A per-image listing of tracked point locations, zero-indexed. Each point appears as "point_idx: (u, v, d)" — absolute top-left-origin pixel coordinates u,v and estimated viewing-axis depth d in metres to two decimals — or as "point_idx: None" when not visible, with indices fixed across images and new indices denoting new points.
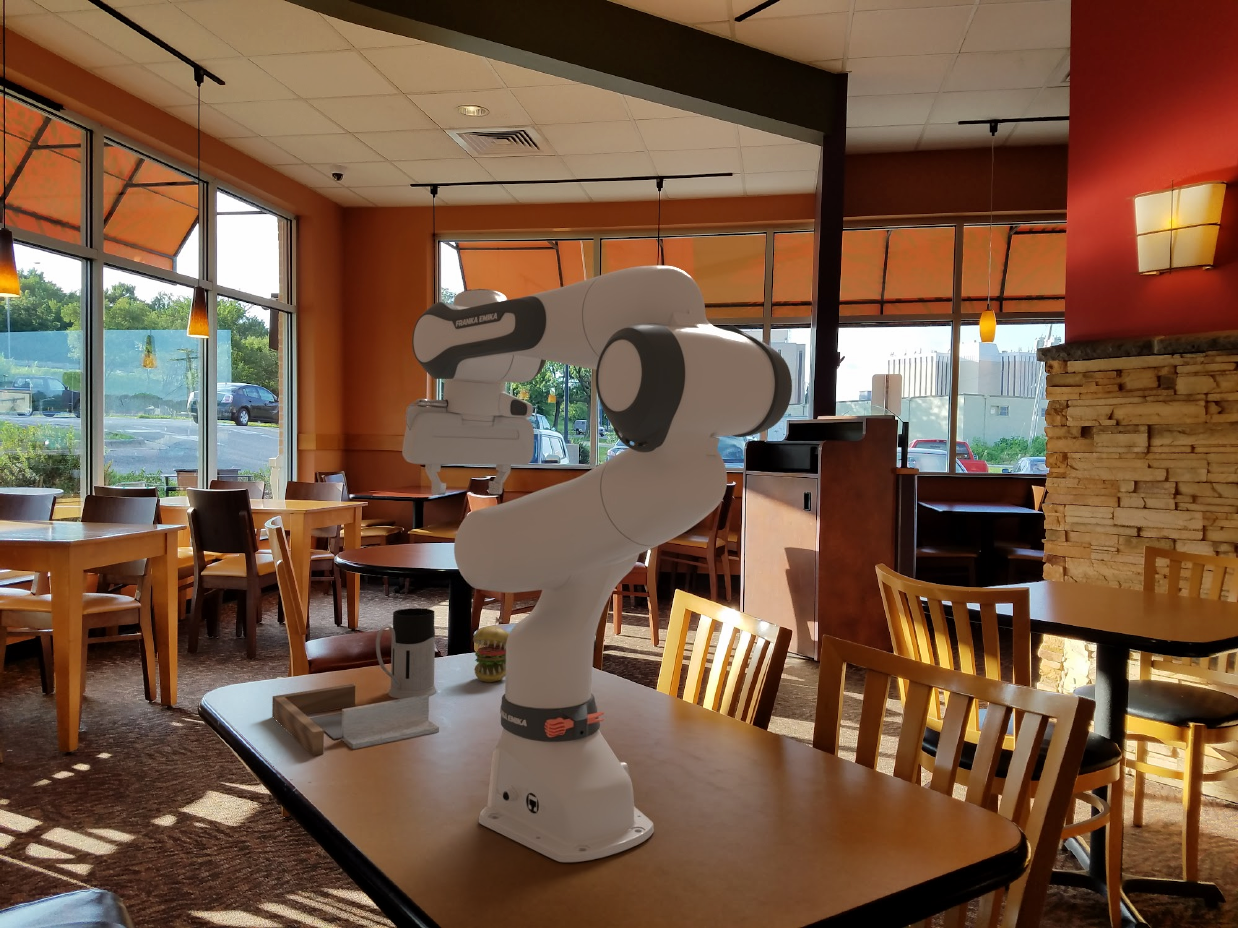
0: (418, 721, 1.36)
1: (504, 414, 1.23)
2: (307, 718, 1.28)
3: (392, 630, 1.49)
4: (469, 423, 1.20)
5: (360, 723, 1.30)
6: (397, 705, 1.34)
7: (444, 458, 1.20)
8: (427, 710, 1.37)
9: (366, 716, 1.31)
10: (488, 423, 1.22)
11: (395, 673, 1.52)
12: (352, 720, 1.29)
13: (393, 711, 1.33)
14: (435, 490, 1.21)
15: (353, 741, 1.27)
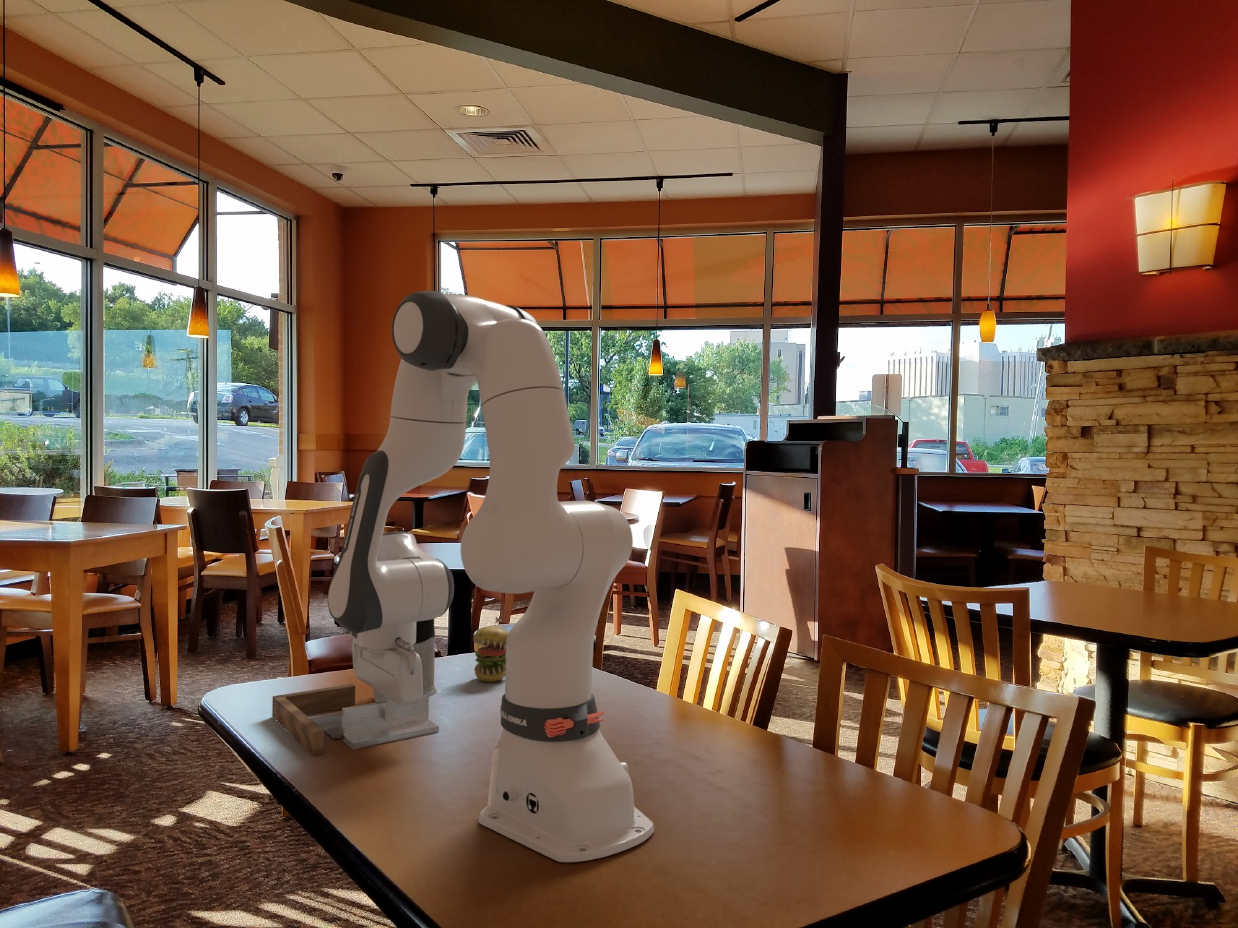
0: (418, 720, 1.36)
1: None
2: (307, 718, 1.28)
3: None
4: None
5: (360, 722, 1.30)
6: None
7: None
8: (427, 709, 1.37)
9: (366, 715, 1.31)
10: None
11: None
12: (352, 719, 1.29)
13: None
14: (393, 717, 1.32)
15: (353, 740, 1.27)
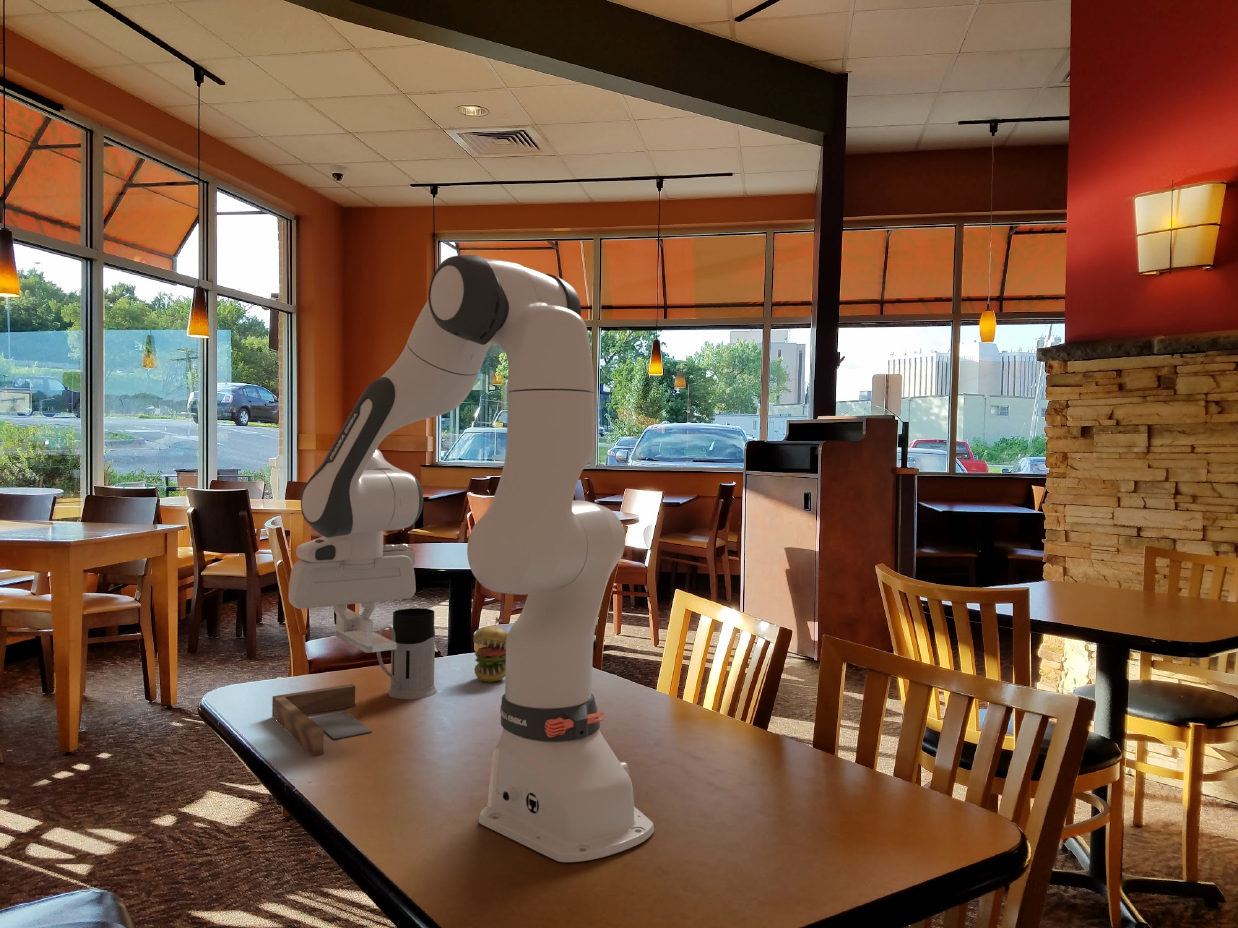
0: None
1: None
2: (307, 718, 1.28)
3: (392, 630, 1.49)
4: None
5: None
6: None
7: None
8: None
9: None
10: None
11: (395, 673, 1.52)
12: None
13: None
14: None
15: (389, 643, 1.34)
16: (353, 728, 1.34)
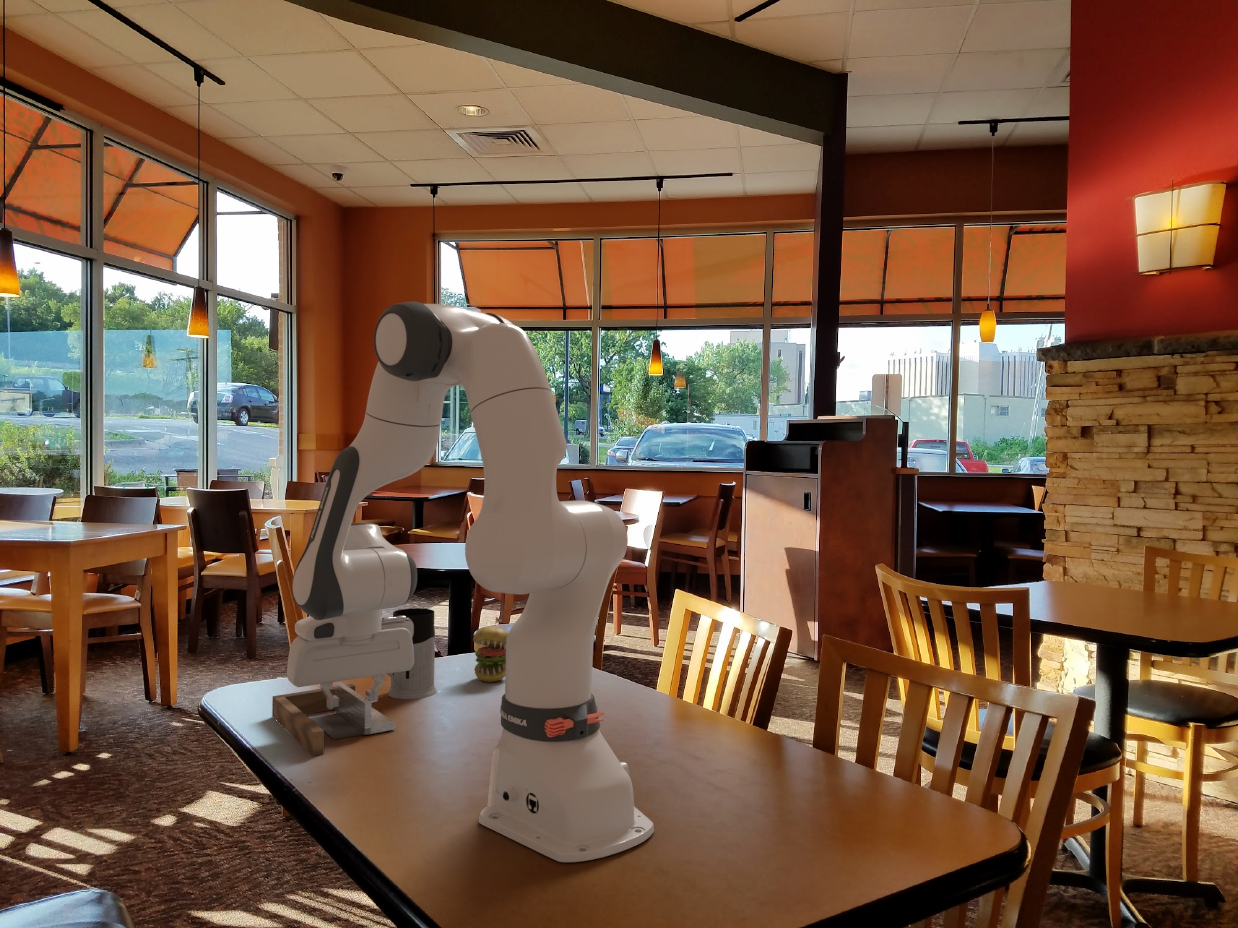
0: None
1: None
2: (307, 718, 1.28)
3: None
4: None
5: None
6: None
7: None
8: None
9: None
10: None
11: (395, 673, 1.52)
12: None
13: None
14: None
15: (387, 723, 1.34)
16: (353, 728, 1.34)
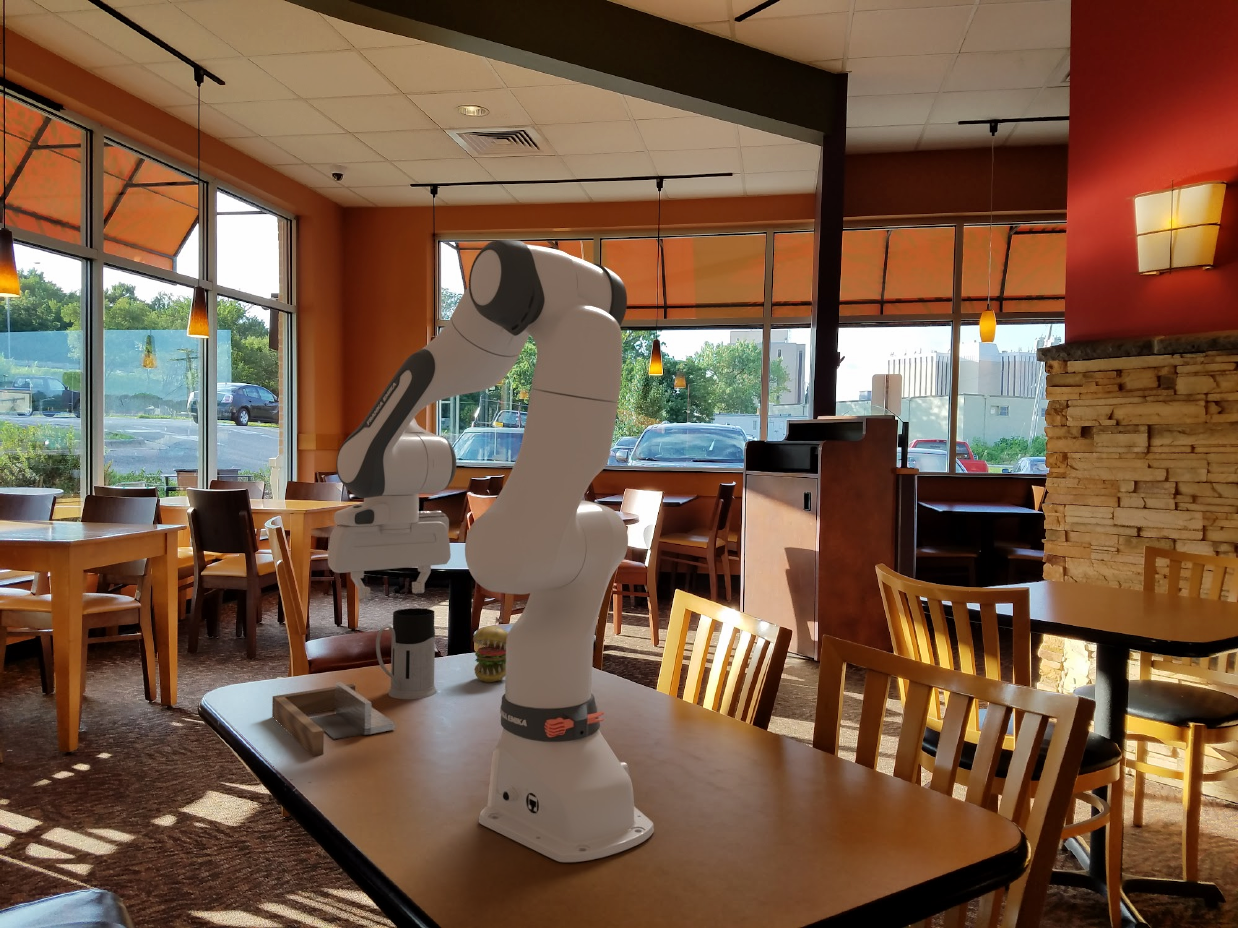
0: None
1: None
2: (307, 718, 1.28)
3: (392, 630, 1.49)
4: None
5: None
6: None
7: None
8: None
9: None
10: None
11: (395, 673, 1.52)
12: None
13: None
14: None
15: (387, 723, 1.34)
16: (353, 728, 1.34)
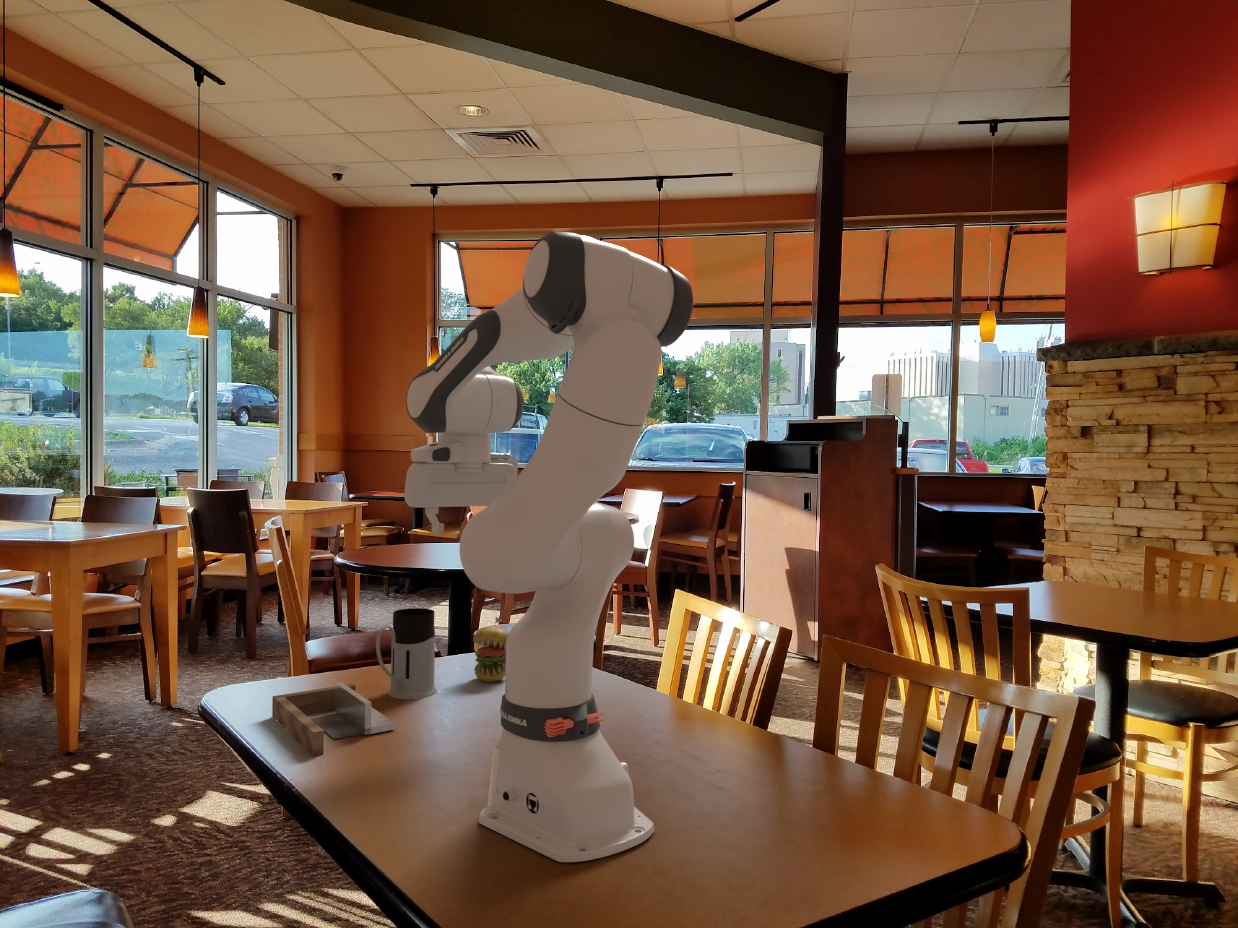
0: None
1: None
2: (307, 718, 1.28)
3: (392, 630, 1.49)
4: None
5: None
6: None
7: None
8: None
9: None
10: None
11: (395, 673, 1.52)
12: None
13: None
14: None
15: (387, 723, 1.34)
16: (353, 728, 1.34)
